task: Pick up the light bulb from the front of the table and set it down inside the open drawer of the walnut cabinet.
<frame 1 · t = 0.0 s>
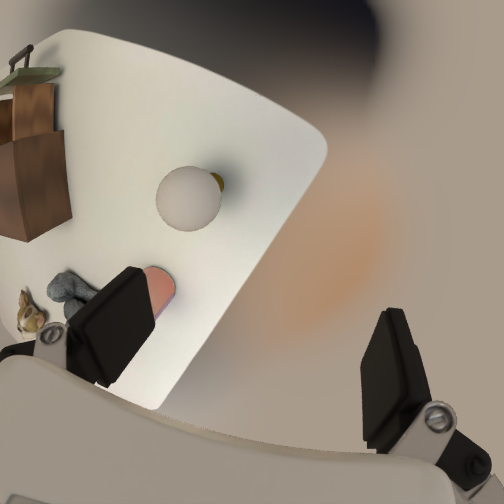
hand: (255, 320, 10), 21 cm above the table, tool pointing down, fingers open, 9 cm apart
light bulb: (215, 182, 30), on the table
beverage can: (159, 282, 39), on the table
drawer: (20, 102, 25), point 5 cm above the table, slide at 9.5 cm
cabinet: (46, 176, 36), on the table
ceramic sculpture: (37, 311, 56), on the table
koala plush: (99, 314, 46), on the table
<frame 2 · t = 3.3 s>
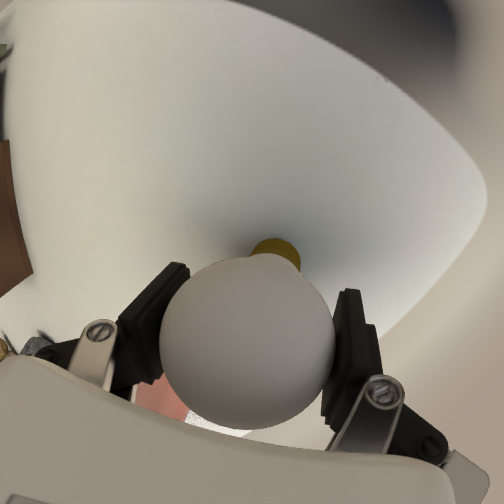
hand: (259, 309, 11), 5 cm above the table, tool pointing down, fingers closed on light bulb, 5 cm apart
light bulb: (278, 253, 15), on the table, touching gripper
beverage can: (169, 379, 24), on the table
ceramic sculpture: (19, 358, 41), on the table
koala plush: (89, 387, 31), on the table
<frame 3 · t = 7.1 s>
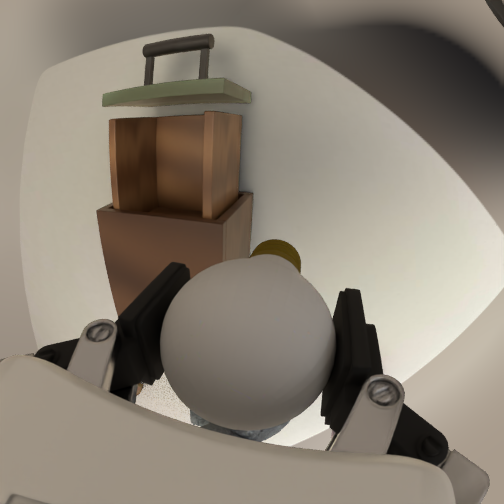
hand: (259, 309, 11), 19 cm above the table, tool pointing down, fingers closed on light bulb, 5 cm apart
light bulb: (278, 254, 15), point 14 cm above the table, touching gripper
drawer: (177, 132, 23), point 5 cm above the table, slide at 9.5 cm
cabinet: (199, 246, 33), on the table
koala plush: (246, 391, 44), on the table
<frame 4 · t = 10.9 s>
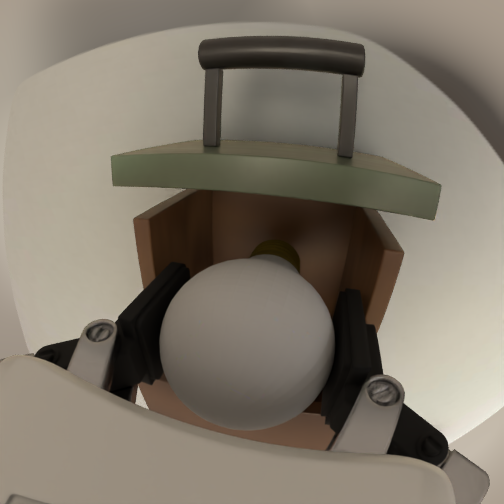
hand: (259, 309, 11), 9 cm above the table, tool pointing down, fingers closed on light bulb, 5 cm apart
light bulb: (278, 254, 15), point 3 cm above the table, touching gripper
drawer: (273, 237, 13), point 5 cm above the table, slide at 9.5 cm
cabinet: (269, 356, 24), on the table
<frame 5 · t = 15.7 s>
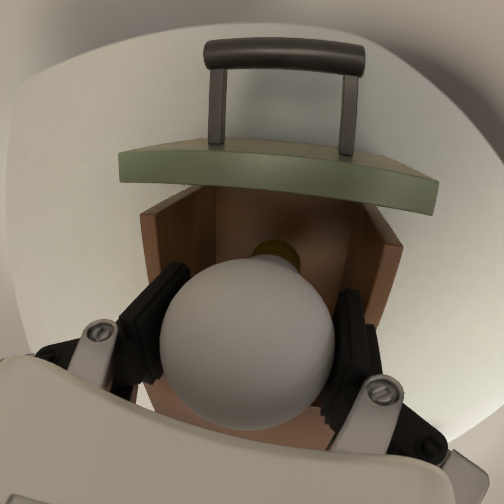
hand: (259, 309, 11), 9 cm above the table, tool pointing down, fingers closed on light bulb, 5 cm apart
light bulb: (278, 254, 15), point 4 cm above the table, touching gripper
drawer: (275, 233, 14), point 5 cm above the table, slide at 9.5 cm
cabinet: (270, 352, 24), on the table
when the fingers open (10 cm above the table, at t = 20.3 s): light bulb drops 3 cm, resting on drawer.
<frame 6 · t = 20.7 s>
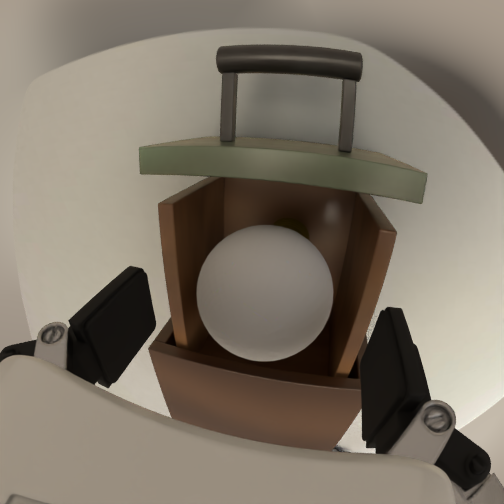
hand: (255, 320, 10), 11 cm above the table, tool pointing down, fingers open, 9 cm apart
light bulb: (291, 231, 18), point 2 cm above the table, touching drawer
drawer: (281, 223, 15), point 5 cm above the table, slide at 9.5 cm, touching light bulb
cabinet: (274, 342, 25), on the table
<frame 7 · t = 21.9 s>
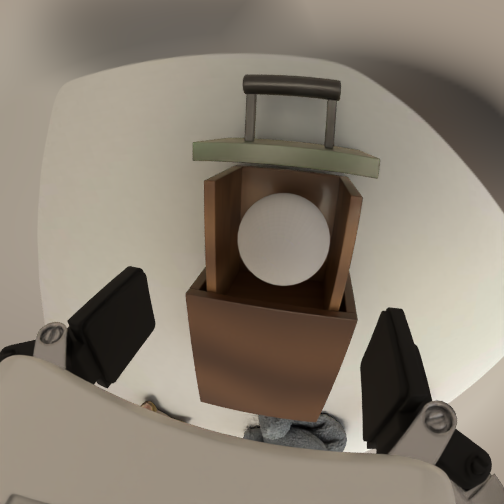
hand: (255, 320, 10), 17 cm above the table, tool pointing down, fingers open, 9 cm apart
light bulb: (292, 208, 24), point 2 cm above the table, touching drawer
drawer: (285, 199, 20), point 5 cm above the table, slide at 9.5 cm, touching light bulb
cabinet: (278, 307, 31), on the table
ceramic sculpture: (161, 413, 50), on the table
koala plush: (300, 426, 42), on the table
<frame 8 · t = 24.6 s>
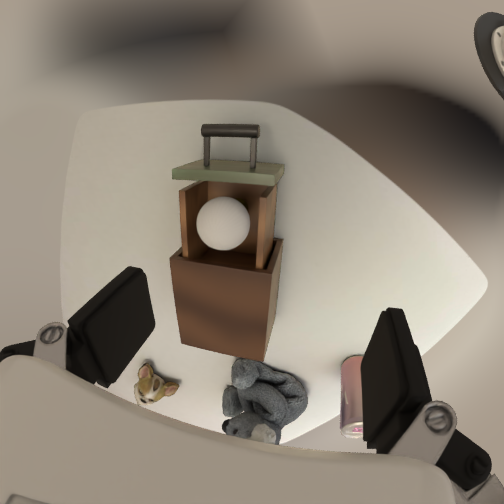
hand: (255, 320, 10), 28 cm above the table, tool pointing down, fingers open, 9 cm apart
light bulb: (240, 205, 36), point 2 cm above the table, touching drawer
beverage can: (356, 363, 47), on the table
drawer: (231, 199, 33), point 5 cm above the table, slide at 9.5 cm, touching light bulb
cabinet: (239, 276, 43), on the table
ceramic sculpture: (157, 377, 64), on the table
koala plush: (269, 386, 54), on the table
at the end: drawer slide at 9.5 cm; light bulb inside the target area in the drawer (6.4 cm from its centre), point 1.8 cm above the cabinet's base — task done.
